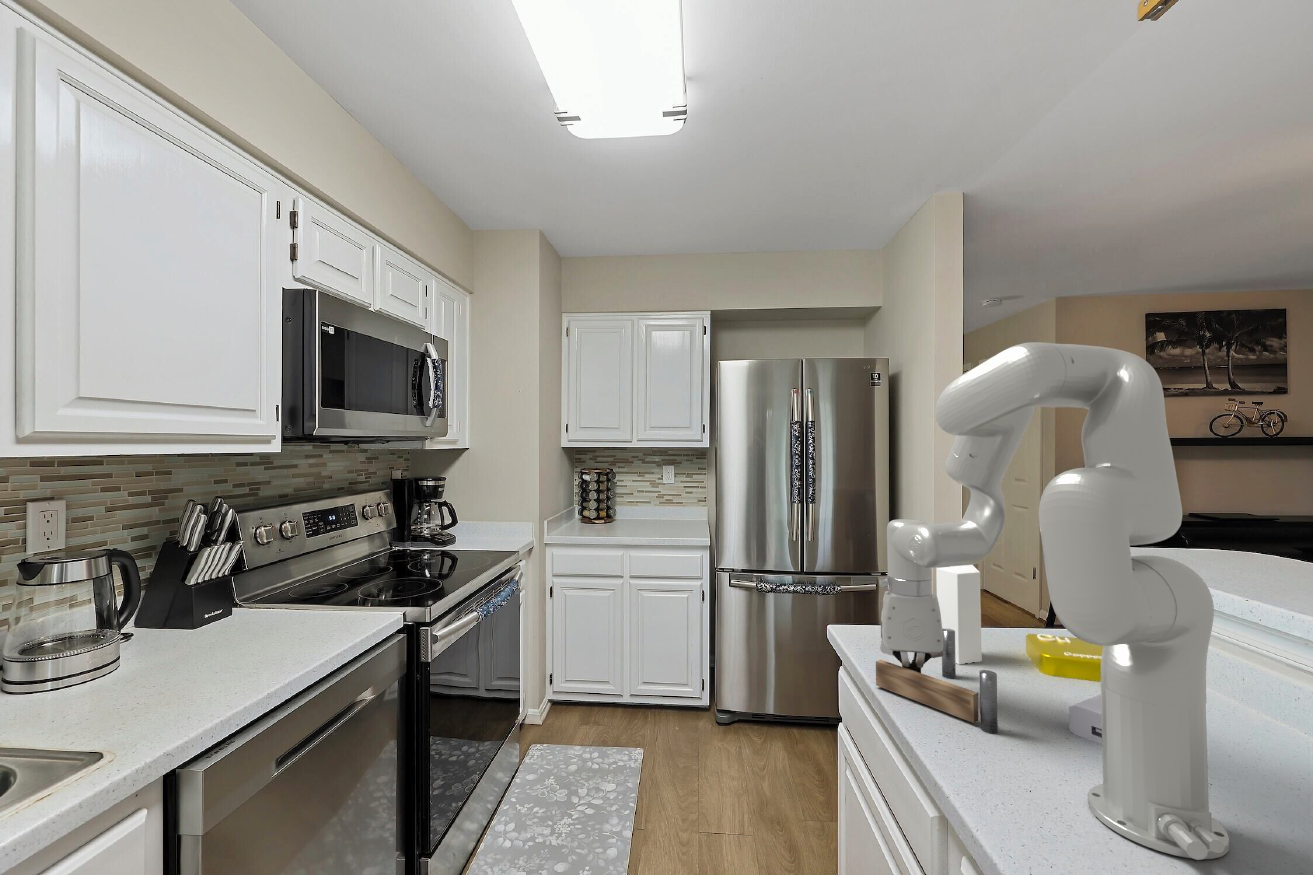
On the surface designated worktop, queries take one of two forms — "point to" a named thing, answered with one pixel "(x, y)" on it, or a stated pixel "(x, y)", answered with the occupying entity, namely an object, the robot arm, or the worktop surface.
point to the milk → (961, 609)
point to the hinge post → (988, 701)
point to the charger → (1087, 719)
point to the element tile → (1065, 656)
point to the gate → (928, 690)
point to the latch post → (948, 654)
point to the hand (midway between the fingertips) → (911, 686)
